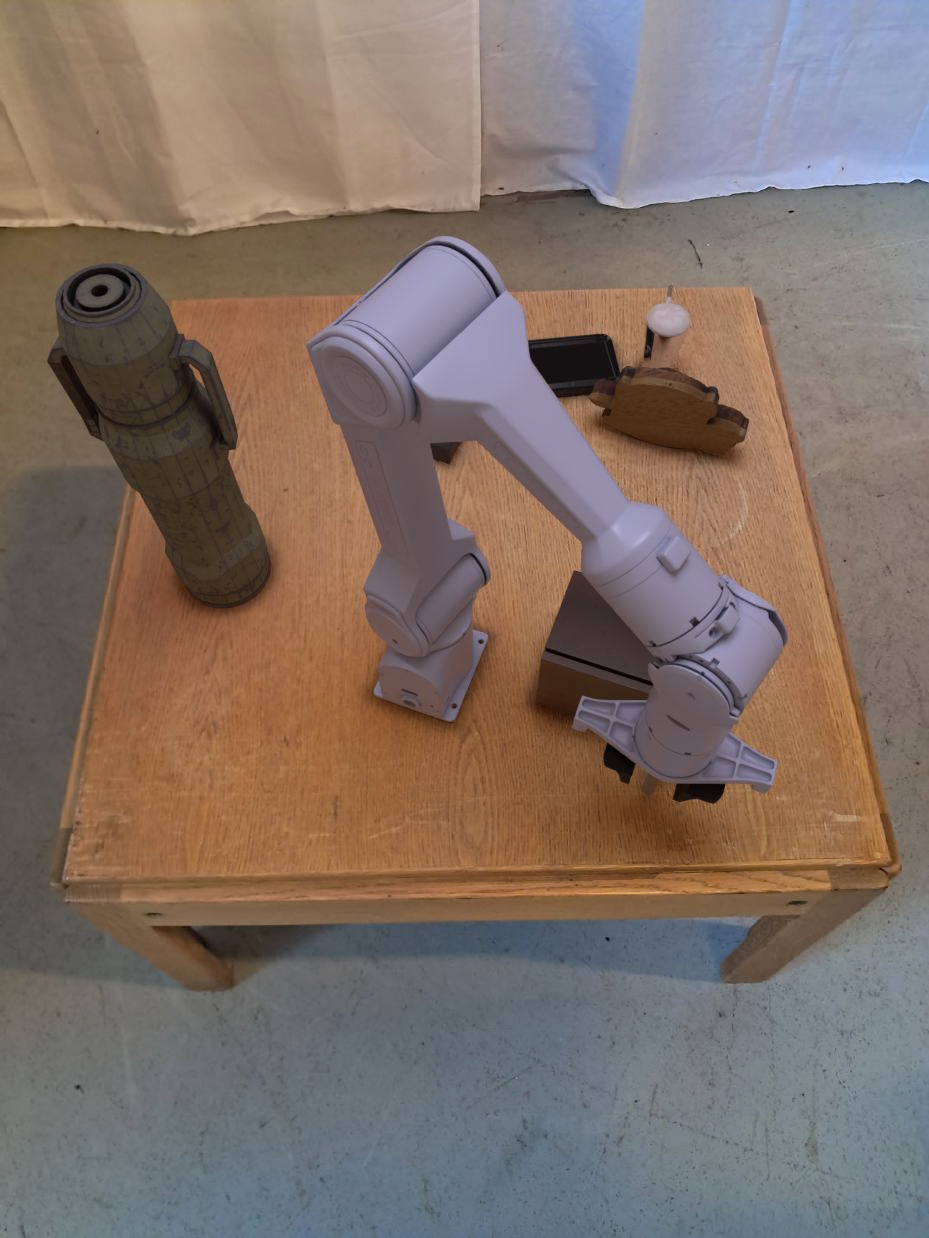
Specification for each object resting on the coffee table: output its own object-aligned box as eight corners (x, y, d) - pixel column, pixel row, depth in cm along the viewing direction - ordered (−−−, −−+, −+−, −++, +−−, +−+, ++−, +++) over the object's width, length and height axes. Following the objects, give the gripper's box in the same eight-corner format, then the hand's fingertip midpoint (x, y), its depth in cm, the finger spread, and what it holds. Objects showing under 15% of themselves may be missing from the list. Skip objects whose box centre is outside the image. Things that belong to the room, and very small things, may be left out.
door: (664, 810, 78) (686, 775, 70) (514, 758, 80) (518, 717, 72) (683, 744, 81) (705, 703, 73) (537, 696, 83) (543, 650, 75)
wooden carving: (740, 436, 98) (766, 369, 89) (735, 469, 95) (761, 403, 87) (588, 408, 100) (599, 340, 91) (580, 440, 98) (591, 373, 89)
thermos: (173, 534, 92) (22, 245, 62) (290, 532, 92) (196, 241, 62) (161, 610, 88) (-9, 340, 58) (282, 608, 88) (178, 337, 57)
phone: (623, 383, 100) (487, 396, 99) (621, 391, 101) (487, 403, 100) (609, 332, 103) (479, 343, 103) (608, 339, 104) (478, 350, 104)
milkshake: (675, 355, 103) (693, 285, 95) (675, 391, 101) (694, 322, 92) (634, 353, 104) (649, 282, 95) (634, 388, 101) (649, 319, 92)
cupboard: (683, 742, 81) (707, 699, 73) (538, 694, 83) (544, 646, 75) (704, 666, 85) (729, 617, 76) (564, 622, 87) (573, 569, 79)
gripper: (806, 698, 62) (753, 766, 74) (600, 633, 64) (581, 708, 76) (786, 793, 59) (734, 847, 71) (570, 720, 61) (555, 784, 73)
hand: (653, 780), depth 73 cm, fingers open, 4 cm apart
